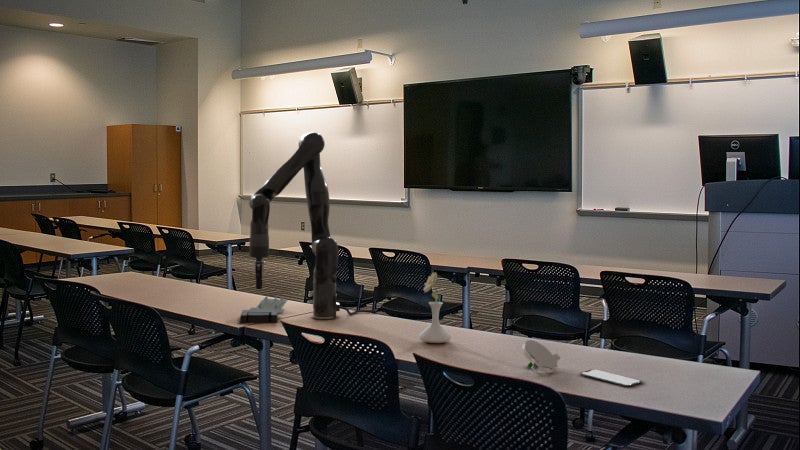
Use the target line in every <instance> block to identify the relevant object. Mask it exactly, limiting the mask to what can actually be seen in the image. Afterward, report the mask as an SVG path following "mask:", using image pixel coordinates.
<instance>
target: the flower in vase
mask: <svg viewBox="0 0 800 450" xmlns="http://www.w3.org/2000/svg"><path fill="white" fill-rule="evenodd" d="M437 278H438V274H437V271H435V272H433V271H432V273H431V274H430V275H429V276H428V277H427V279H426V282H424V287H423V290H422V291H424V292H423V293H427V292H429V291H430V290H431V289H432V288H433V287H434V289H435V291H432V293H431V297H432V298H433V299H434V300H435V301H429V302H428V305H429V306H430V309H431V315H432V320H431V323H430V324H429V325H428V326H427V327H426V328H425V329H423V330H422V331H421V332H420V333H419V335H418V338H419V339H420V340H421V341H423V342H426V343H431V344H441V343H448V342H449V341H451V339H452V338H453V337H452V335H451V334H450V332H448V331H447V330H446V329H445V327H443V326H442V325H441V323H440V318H439V317H440V310H441V308H442V306H443V303H444V302H442V301H438V300H439V298H440V297H439V294H438V289H437V287H436V285H435V284H436V281H437V280H438V279H437Z"/></svg>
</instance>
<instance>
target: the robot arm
mask: <svg viewBox="0 0 800 450" xmlns="http://www.w3.org/2000/svg"><path fill="white" fill-rule="evenodd" d="M325 143H326V142H325V139H324V137H323V135H322V134H320V133H319V132H307V133H305V134H302V135H301V136H300V138H299V140H298V148H297V149H296V151H295V152H294V153H293V155H292V156H291V157H289V158H288V160H286V161H285V162H284V163H283V164H282V165H281V166H279V168H277V169H276V171H275V172H274V173H273V174H272V175H271V176H269V178H268V179H267V180H266V182H265V183H264V184H263V185H262V186H261V187H260V188H259V189H257V190H256V191H255V192H254V193H253V194H252V195H251V197H250V199H249V200H248V202H249V203H248V205H249V208H250V209H251V220H250V225H249V229H250V230H249V257H250V258H253V259H254V258H255V261H254V262H253V267H254V279H255V289H256V290H262V289H263V278H264V273H265V263H266V262H265V261H264V260H263V259H264V258H269V257H270V235H269V218H270V211H271V202H272V201H273V199H275V198H276V197H277V196H279V195H280V194H281V193H282V192H283V191H284V190H285V188H286V187H287V186H289V184H290V183H291V182H292V180H293V179H294V178H295V177H296V176H297V175H298V173H300V171H302V169H303V179H304V189H305V198H306V205H307V210H308V218H309V221H310V231H311V233H310V234H311V250H312V254H314V255H315V265H314V268H313V277H312V278H313V280H312V281H313V285H312V286H313V288H312V291H313V292H312V293H313V294H312V300H313V301H312V318H313V319H316V320H332V319H333V320H334V319H337V312H340V311H341V310H344V311H346V312H347V315H350V316H353V315H355V314H358V313H370V314H372V313H373V314H378V310H370V309H357V310H354V311H352V312H350V310H349V308H347V307H345V306H341V304H340V302H337V271H338V268H339V265H338V264H339V245H338V242H337V241H336V240H335V238H333V237H331V232H330V225H329V217H330V208H331V202H330V201H331V199H330V193H329V186H328V182H327V180H326V177H325V174H324V172H323V169H322V164H321V153H323V150H325V149H324V148H325V147H326V146H325V145H326V144H325Z"/></svg>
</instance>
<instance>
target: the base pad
mask: <svg viewBox="0 0 800 450" xmlns="http://www.w3.org/2000/svg"><path fill="white" fill-rule="evenodd" d="M277 312H278V310H250V309H242V310H241V313H240V317H239V318H240V319H239V320H240V321H239V322H240V324H247V323H248V314H249V313H269V321H270V323H273V324H274V323H275V324H276V323H278V314H277Z"/></svg>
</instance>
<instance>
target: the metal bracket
mask: <svg viewBox="0 0 800 450" xmlns="http://www.w3.org/2000/svg"><path fill="white" fill-rule="evenodd" d="M287 302H288V299H284V296H281V297H280V298H277V296H275V297H274V298H269V297H268V296H265V297H264V298H263V299H262V300H261V301H260V302H259V303H258V305H257V306H256V307H250V308H249V310H278V312H277V315H279V314H283V313H284V312H285V309H284V306H285V304H286V303H287Z"/></svg>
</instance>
